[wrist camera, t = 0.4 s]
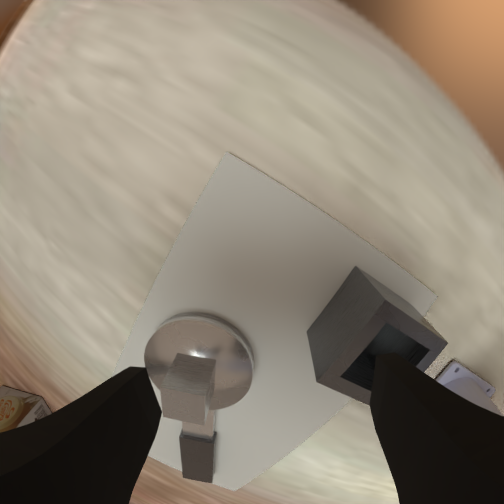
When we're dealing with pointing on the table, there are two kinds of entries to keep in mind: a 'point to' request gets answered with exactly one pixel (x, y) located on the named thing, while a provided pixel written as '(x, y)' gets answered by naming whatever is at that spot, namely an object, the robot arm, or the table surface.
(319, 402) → the mat
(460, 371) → the robot arm
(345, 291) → the socket
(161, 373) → the ratchet
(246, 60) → the table surface
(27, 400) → the coffee box
